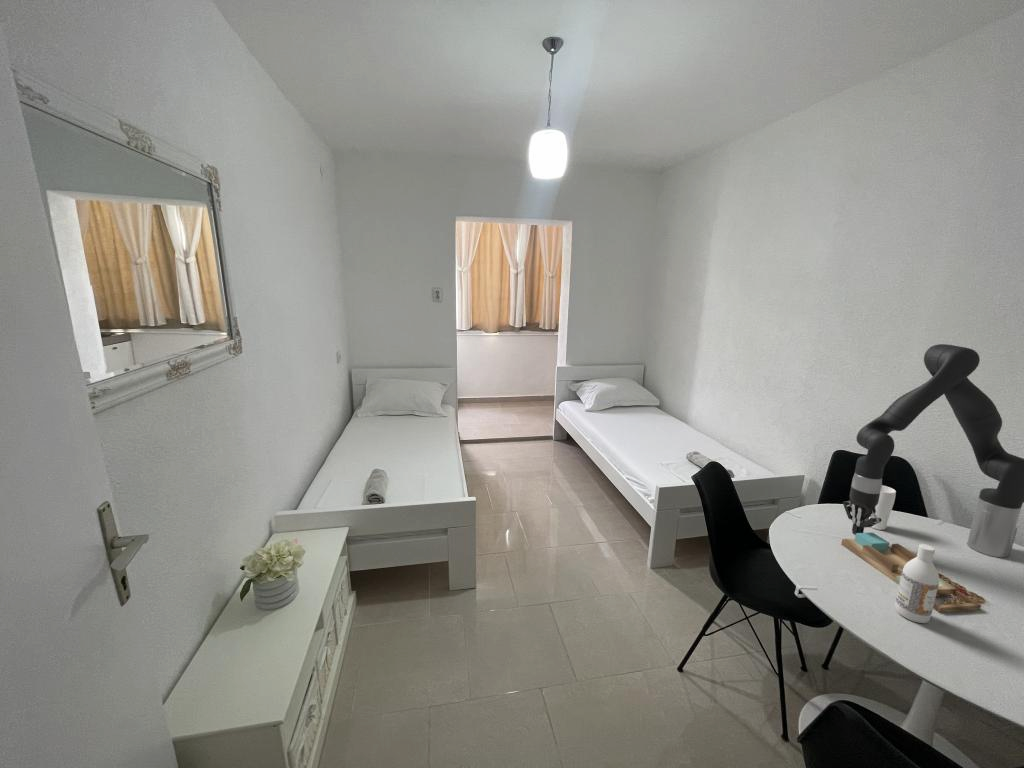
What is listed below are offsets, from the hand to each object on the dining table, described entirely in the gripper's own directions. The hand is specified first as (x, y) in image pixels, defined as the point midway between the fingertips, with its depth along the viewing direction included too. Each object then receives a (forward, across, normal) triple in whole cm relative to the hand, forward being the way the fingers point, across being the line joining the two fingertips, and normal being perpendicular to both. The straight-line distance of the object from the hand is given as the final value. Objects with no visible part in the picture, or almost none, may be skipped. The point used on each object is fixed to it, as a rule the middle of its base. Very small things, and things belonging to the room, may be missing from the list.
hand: (856, 534), depth 146 cm
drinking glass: (+3, +9, -16) cm, 18 cm away
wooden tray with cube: (+3, -17, 0) cm, 17 cm away
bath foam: (+3, -33, +14) cm, 36 cm away
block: (+1, -6, 0) cm, 6 cm away
